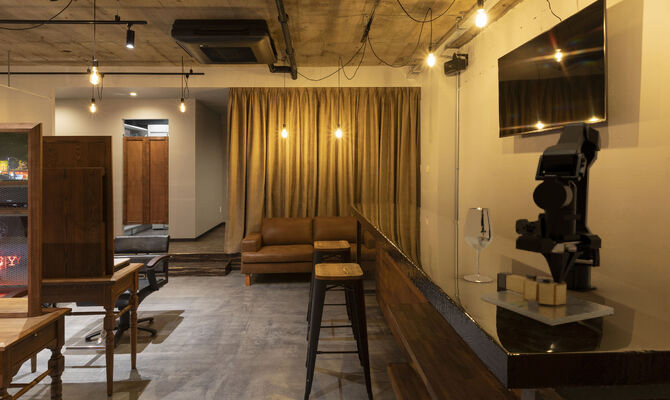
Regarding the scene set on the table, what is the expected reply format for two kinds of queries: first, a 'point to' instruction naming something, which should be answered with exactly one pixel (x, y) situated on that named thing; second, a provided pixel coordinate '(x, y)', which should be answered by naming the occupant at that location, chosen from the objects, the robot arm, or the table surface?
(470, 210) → the wineglass
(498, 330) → the table surface
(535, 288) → the octagonal ring with handle
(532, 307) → the post base
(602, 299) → the table surface
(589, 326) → the table surface
